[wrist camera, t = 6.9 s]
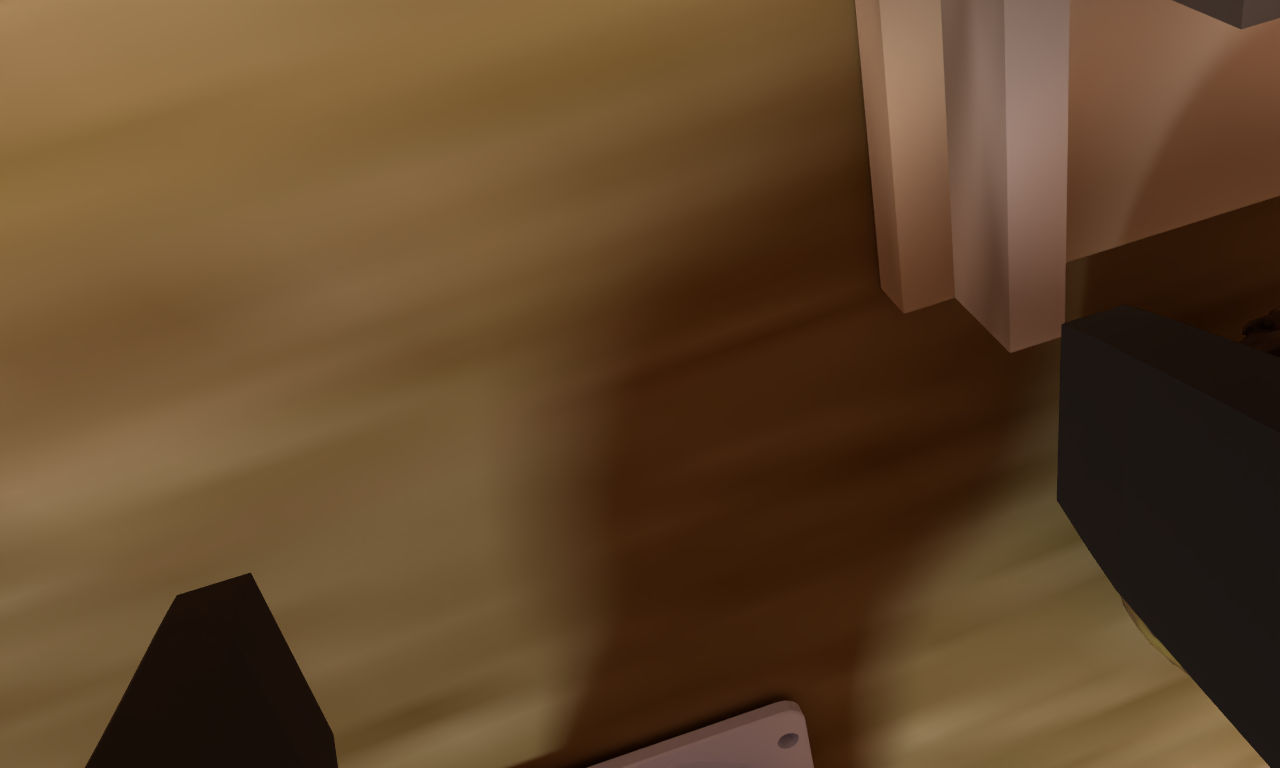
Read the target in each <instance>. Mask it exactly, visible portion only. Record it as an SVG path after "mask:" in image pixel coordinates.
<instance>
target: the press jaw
mask: <svg viewBox="0 0 1280 768" xmlns="http://www.w3.org/2000/svg"><path fill="white" fill-rule="evenodd" d="M1173 1H1175V2H1177V3H1180V4H1182V5H1184V6H1187V7H1189V8H1192V9H1194V10H1196V11H1199V12H1201V13H1203V14H1206V15H1208V16H1210V17H1213V18H1215V19H1217V20H1220V21H1222V22H1224V23H1227V24H1229V25H1232V26H1234V27H1236V28H1239V29H1244V28H1248V27H1251V26H1254V25H1258V24H1261V23H1265V22H1268V21H1271V20H1275V19H1278V18H1280V0H1173Z"/></svg>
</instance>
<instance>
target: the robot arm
mask: <svg viewBox="0 0 1280 768" xmlns="http://www.w3.org/2000/svg"><path fill="white" fill-rule="evenodd" d="M1057 501H1058V503H1059V504H1060V506H1061V507H1062V509H1063V510H1064V512H1065V514H1066V515H1067V517H1068V518H1069V520H1070V521H1071V523H1072V525H1073V526H1074V528H1075V529H1076V531H1077V532H1078V534H1079V536H1080V537H1081V539H1082V540H1083V542H1084V543H1085V545H1086V547H1087V548H1088V550H1089V551H1090V553H1091V554H1092V556H1093V557H1094V559H1095V560H1096V561H1097V563H1098V564H1099V566H1100V567H1101V569H1102V570H1103V572H1104V573H1105V575H1106V576H1107V578H1108V579H1109V580H1110V582H1111V583H1112V585H1113V586H1114V588H1115V589H1116V591H1117V592H1118V593H1119V594H1120V595H1121V597H1122V598H1123V599H1124V600H1125V601H1126V603H1127V604H1128V605H1129V606H1130V607H1131V608H1132V610H1133V611H1134V612H1135V613H1136V614H1137V616H1138V617H1139V618H1140V619H1141V620H1142V621H1143V622H1144V624H1145V625H1146V626H1147V627H1148V628H1149V629H1150V631H1151V632H1152V633H1153V634H1154V635H1155V636H1156V638H1157V639H1158V640H1159V641H1160V642H1161V643H1162V644H1163V646H1164V647H1165V648H1166V649H1167V650H1168V651H1169V653H1170V654H1171V655H1172V656H1173V657H1174V658H1175V660H1176V661H1177V662H1178V663H1179V664H1180V665H1181V666H1182V668H1183V669H1184V670H1185V671H1186V672H1187V673H1188V674H1189V675H1190V677H1191V678H1192V679H1193V680H1194V681H1195V682H1196V683H1197V685H1198V686H1199V687H1200V688H1201V689H1202V690H1203V691H1204V693H1205V694H1206V695H1207V696H1208V697H1209V698H1210V699H1211V700H1212V702H1213V703H1214V704H1215V705H1216V706H1217V707H1218V708H1219V710H1220V711H1221V712H1222V713H1223V714H1224V715H1225V716H1226V718H1227V719H1228V720H1229V721H1230V722H1231V723H1232V724H1233V725H1234V727H1235V728H1236V729H1237V730H1238V731H1239V732H1240V733H1241V735H1242V736H1243V737H1244V738H1245V739H1246V740H1247V741H1248V743H1249V744H1250V745H1251V746H1252V747H1253V748H1254V749H1255V751H1256V752H1257V753H1258V754H1259V755H1260V756H1261V757H1262V758H1263V760H1264V761H1265V762H1266V763H1267V764H1268V765H1269V766H1270V768H1280V358H1279V357H1276V356H1273V355H1271V354H1268V353H1265V352H1262V351H1260V350H1257V349H1254V348H1251V347H1249V346H1246V345H1243V344H1241V343H1238V342H1235V341H1232V340H1230V339H1227V338H1224V337H1221V336H1218V335H1216V334H1213V333H1210V332H1207V331H1204V330H1202V329H1199V328H1196V327H1193V326H1190V325H1188V324H1185V323H1182V322H1179V321H1176V320H1173V319H1170V318H1167V317H1164V316H1161V315H1158V314H1155V313H1152V312H1148V311H1145V310H1142V309H1138V308H1135V307H1132V306H1128V305H1122V306H1119V307H1116V308H1112V309H1109V310H1106V311H1103V312H1099V313H1096V314H1093V315H1090V316H1086V317H1083V318H1080V319H1077V320H1073V321H1070V322H1067V323H1063V324H1061V360H1060V399H1059V437H1058V475H1057ZM85 768H338V764H337V757H336V750H335V743H334V736H333V732H332V731H331V729H330V727H329V725H328V723H327V721H326V719H325V717H324V715H323V713H322V711H321V709H320V707H319V705H318V703H317V701H316V699H315V697H314V695H313V693H312V691H311V689H310V688H309V686H308V684H307V682H306V680H305V678H304V676H303V674H302V672H301V670H300V668H299V666H298V664H297V662H296V660H295V658H294V656H293V654H292V652H291V650H290V648H289V646H288V645H287V643H286V641H285V639H284V637H283V635H282V633H281V631H280V629H279V627H278V625H277V623H276V621H275V619H274V617H273V615H272V613H271V611H270V609H269V607H268V605H267V603H266V602H265V600H264V598H263V596H262V594H261V592H260V590H259V588H258V586H257V584H256V582H255V580H254V578H253V576H252V574H251V573H248V574H245V575H241V576H238V577H235V578H232V579H228V580H225V581H222V582H219V583H215V584H212V585H209V586H206V587H202V588H199V589H196V590H193V591H189V592H186V593H183V594H180V595H177V596H176V598H175V599H174V601H173V603H172V604H171V606H170V608H169V610H168V612H167V613H166V615H165V617H164V619H163V621H162V623H161V624H160V626H159V628H158V630H157V632H156V634H155V636H154V637H153V639H152V641H151V643H150V645H149V647H148V649H147V651H146V653H145V655H144V657H143V659H142V661H141V663H140V664H139V666H138V668H137V670H136V672H135V674H134V676H133V678H132V680H131V682H130V684H129V686H128V688H127V690H126V692H125V693H124V695H123V697H122V699H121V701H120V703H119V705H118V707H117V709H116V711H115V712H114V714H113V716H112V718H111V720H110V722H109V724H108V726H107V728H106V730H105V731H104V733H103V735H102V737H101V739H100V741H99V743H98V745H97V747H96V748H95V750H94V752H93V754H92V756H91V757H90V759H89V761H88V763H87V765H86V766H85ZM587 768H814V766H813V760H812V755H811V749H810V743H809V738H808V732H807V726H806V721H805V717H804V715H803V713H802V711H801V709H800V707H799V705H798V704H797V703H795V702H793V701H780V702H776V703H773V704H770V705H767V706H764V707H761V708H758V709H755V710H753V711H750V712H747V713H744V714H741V715H738V716H735V717H732V718H729V719H726V720H724V721H721V722H718V723H715V724H712V725H709V726H706V727H703V728H700V729H697V730H695V731H692V732H689V733H686V734H683V735H680V736H677V737H674V738H671V739H668V740H665V741H663V742H660V743H657V744H654V745H651V746H648V747H645V748H642V749H639V750H636V751H634V752H631V753H628V754H625V755H622V756H619V757H616V758H613V759H610V760H607V761H604V762H602V763H599V764H596V765H593V766H590V767H587Z"/></svg>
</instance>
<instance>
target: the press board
mask: <svg viewBox="0 0 1280 768" xmlns="http://www.w3.org/2000/svg"><path fill="white" fill-rule="evenodd" d="M855 6H856V17H857V28H858V39H859V50H860V61H861V72H862V83H863V94H864V105H865V116H866V127H867V138H868V149H869V160H870V172H871V183H872V194H873V205H874V216H875V227H876V238H877V249H878V260H879V271H880V282H881V289H882V290H883V291H884V292H885V293H886V295H887V296H888V297H889V298H890V299H891V300H892V301H893V302H894V303H895V305H896V306H897V307H898V308H899V309H900V310H901V311H902V312H903V313H904V314H905V313H908V312H911V311H915V310H918V309H921V308H924V307H927V306H931V305H934V304H937V303H940V302H943V301H946V300H950V299H953V298H956V299H957V300H958V301H959V302H960V303H961V304H962V305H963V306H964V307H965V308H966V309H967V310H968V311H969V312H970V313H971V314H972V315H973V316H974V317H975V318H976V319H977V320H978V321H979V322H980V323H981V324H982V325H983V326H984V327H985V328H986V329H987V330H988V331H989V332H990V333H991V334H992V335H993V336H994V337H995V338H996V339H997V340H998V341H999V342H1000V343H1001V344H1002V345H1003V346H1004V347H1005V348H1006V349H1007V350H1008V351H1009V352H1010V353H1012V352H1016V351H1019V350H1022V349H1025V348H1028V347H1031V346H1034V345H1037V344H1040V343H1044V342H1047V341H1050V340H1053V339H1056V338H1059V337H1061V324H1063V323H1065V288H1066V263H1067V262H1070V261H1074V260H1077V259H1080V258H1083V257H1086V256H1090V255H1093V254H1096V253H1099V252H1102V251H1105V250H1109V249H1112V248H1115V247H1118V246H1121V245H1124V244H1128V243H1131V242H1134V241H1137V240H1140V239H1144V238H1147V237H1150V236H1153V235H1156V234H1159V233H1163V232H1166V231H1169V230H1172V229H1175V228H1179V227H1182V226H1185V225H1188V224H1191V223H1194V222H1198V221H1201V220H1204V219H1207V218H1210V217H1214V216H1217V215H1220V214H1223V213H1226V212H1229V211H1233V210H1236V209H1239V208H1242V207H1245V206H1248V205H1252V204H1255V203H1258V202H1261V201H1264V200H1268V199H1271V198H1274V197H1277V196H1280V18H1278V19H1275V20H1271V21H1268V22H1265V23H1261V24H1258V25H1254V26H1251V27H1248V28H1244V29H1239V28H1236V27H1234V26H1232V25H1229V24H1227V23H1224V22H1222V21H1220V20H1217V19H1215V18H1213V17H1210V16H1208V15H1206V14H1203V13H1201V12H1199V11H1196V10H1194V9H1192V8H1189V7H1187V6H1184V5H1182V4H1180V3H1177V2H1175V1H1173V0H855Z"/></svg>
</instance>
